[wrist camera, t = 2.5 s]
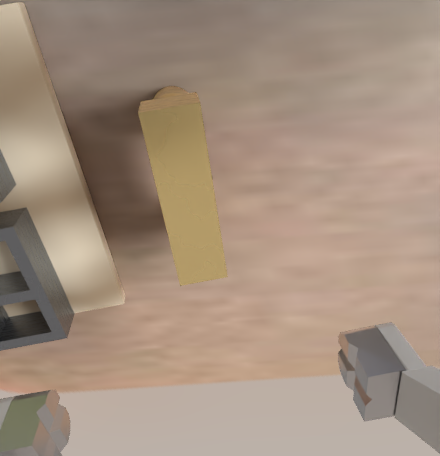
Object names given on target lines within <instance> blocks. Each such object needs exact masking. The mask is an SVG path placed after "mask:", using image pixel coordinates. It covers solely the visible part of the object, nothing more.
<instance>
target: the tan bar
mask: <svg viewBox="0 0 440 456" xmlns="http://www.w3.org/2000/svg"><path fill="white" fill-rule="evenodd" d="M138 115H139V119H140V123H141V127H142V131H143V135H144V139H145V143H146V147H147V152H148V156H149V160H150V164H151V168H152V172H153V176H154V180H155V184H156V188H157V193H158V197H159V201H160V205H161V209H162V213H163V217H164V221H165V225H166V230H167V234H168V238H169V242H170V246H171V250H172V254H173V258H174V262H175V266H176V271H177V275H178V279H179V283H180V286H182V285H187V284H192V283H198V282H203V281H208V280H214V279H219V278H224V277H228V276H227V270H226V264H225V257H224V251H223V245H222V238H221V232H220V226H219V219H218V213H217V207H216V200H215V194H214V188H213V181H212V175H211V169H210V162H209V156H208V150H207V143H206V137H205V131H204V124H203V118H202V112H201V105H200V101H199V98H198V96H197V93H196V92H194V93H187V92H186V91H185V90H183V89H182V88H179V87H175V86H169V87H165V88H163V89H161V90H160V91H158V92H157V93H156V95H155V96H154V98H153V99H152V100H146V101H141V103H140V107H139V111H138Z"/></svg>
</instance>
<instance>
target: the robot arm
mask: <svg viewBox="0 0 440 456" xmlns="http://www.w3.org/2000/svg"><path fill="white" fill-rule="evenodd" d="M338 342H339V344H340V346H341V348H342V349H341V350H340V351H339V352H338V363H339V368H340V372H341V375H342V377H343V379H344V382H345V384H346V385H347V387H349V388H350V389H352V390H353V391H354V397H353V400H354V402H355V404H356V406H357V408H358V410H359V412H360V414H361V416H362V418H363V420H364V421H369V420H375V419H380V418H386V417H392V416H395V418H396V419H397V420H398V421H399V422H401V423H402V424H403V425H405V426H406V427H407V428H408V429H409V430H411V431H412V432H414V433H415V434H416V435H417V436H418V437H420V438H421V439H422V440H423V441H425V442H426V443H427V444H428V445H430V446H431V447H432V448H434V449H435V450H436V451H437V452H438V453H440V370H439V369H437V368H436V367H434V366H426V365H425V364H424V362H423V361H422V360H421V358H420V357H419V356H418V354H417V353H416V352H415V350H414V349H413V348H412V347H411V345H410V344H409V343H408V341H407V340H406V339H405V337H404V336H403V335H402V333H401V332H400V331H399V329H398V328H397V327H396V325H395V324H393V323H392V322H390V323H385V324H380V325H375V326H369V327H364V328H359V329H354V330H350V331H345V332H340V334H339V340H338ZM59 399H60V397H59V395H58V393H57V392H56V390H49V391H43V392H37V393H31V394H25V395H19V396H15V397H9V398H4V399H0V456H62V454H61V453H60V452H61V451H62V450H63V448H64V447H65V446H66V445H67V443H68V440H69V435H70V418H69V414H68V412H67V410H66V408H65V407H63V406H61V405H59V404H58V403H59Z"/></svg>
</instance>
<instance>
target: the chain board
mask: <svg viewBox="0 0 440 456" xmlns="http://www.w3.org/2000/svg"><path fill="white" fill-rule="evenodd" d="M0 149H1V152H2V154H3V156H4V158H5V160H6V163H7V165H8V167H9V169H10V172H11V174H12V176H13V178H14V180H15V183H16V186H15V187H14V188H13V189H12V190H11V192H10V193H9V194H8V195H7V196H6V198H5V199H4V200H3V201H2V202H1V203H0V212H3V211H9V210H15V209H20V208H26V207H27V209H28V211H29V214H30V216H31V218H32V220H33V223H34V225H35V227H36V229H37V231H38V234H39V236H40V238H41V240H42V243H43V245H44V247H45V249H46V251H47V254H48V256H49V258H50V260H51V262H52V265H53V267H54V269H55V271H56V274H57V276H58V278H59V280H60V282H61V285H62V287H63V289H64V291H65V294H66V296H67V298H68V300H69V302H70V305H71V307H72V309H73V311H74V313H79V312H84V311H90V310H95V309H100V308H106V307H111V306H116V305H122V304H124V301H125V293H124V291H123V288H122V285H121V282H120V279H119V276H118V273H117V270H116V267H115V265H114V262H113V259H112V256H111V253H110V250H109V247H108V244H107V241H106V238H105V236H104V233H103V230H102V227H101V224H100V221H99V218H98V215H97V212H96V210H95V207H94V204H93V201H92V198H91V195H90V192H89V189H88V186H87V184H86V181H85V178H84V175H83V172H82V169H81V166H80V163H79V160H78V158H77V155H76V152H75V149H74V146H73V143H72V140H71V137H70V134H69V132H68V129H67V126H66V123H65V120H64V117H63V114H62V111H61V108H60V106H59V103H58V100H57V97H56V94H55V91H54V88H53V85H52V82H51V80H50V77H49V74H48V71H47V68H46V65H45V62H44V59H43V56H42V53H41V51H40V48H39V45H38V42H37V39H36V36H35V33H34V30H33V27H32V25H31V22H30V19H29V16H28V13H27V10H26V7H25V4H24V3H18V2H17V3H11V4H5V5H0ZM17 271H20V269H19V267H18V265H17V263H16V261H15V259H14V257H13V255H12V253H11V251H10V249H9V247H8V245H7V243H6V241H2V242H0V275H1V274H6V273H12V272H17ZM3 307H4V309H5V310H6V312H7V314H8V316H9V317H12V316H17V315H23V314H28V313H34V312H39V311H41V310H40V308H39V306H38V304H37V302H36V300H30V301H24V302H19V303H13V304H8V305H3Z"/></svg>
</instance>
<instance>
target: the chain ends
mask: <svg viewBox="0 0 440 456" xmlns="http://www.w3.org/2000/svg"><path fill="white" fill-rule="evenodd" d="M15 186H16V183H15V180H14V178H13V176H12V174H11V172H10V169H9V167H8V165H7V163H6V160H5V158H4V156H3V154H2V152H1V149H0V203H1V202H2V201H3V200H4V199H5V198H6V196H7V195H8V194H9V193H10V192H11V190H12V189H13V188H14V187H15ZM2 241H6V243H7V245H8V247H9V249H10V251H11V253H12V255H13V257H14V259H15V261H16V263H17V265H18V267H19V269H20V271H17V272H12V273H6V274H1V275H0V351H1V350H6V349H11V348H17V347H22V346H27V345H32V344H38V343H43V342H48V341H54V340H59V339H64V338H67V337H68V333H69V330H70V327H71V323H72V320H73V317H74V311H73V309H72V307H71V305H70V302H69V300H68V298H67V296H66V294H65V291H64V289H63V287H62V285H61V282H60V280H59V278H58V276H57V274H56V271H55V269H54V267H53V265H52V262H51V260H50V258H49V256H48V254H47V251H46V249H45V247H44V245H43V243H42V240H41V238H40V236H39V234H38V231H37V229H36V227H35V225H34V223H33V220H32V218H31V216H30V214H29V211H28V209H27V207H26V208H20V209H15V210H9V211H3V212H0V242H2ZM30 300H36V302H37V304H38V306H39V308H40V310H41V311H39V312H34V313H28V314H23V315H17V316H12V317H9V316H8V314H7V312H6V310H5V309H4V307H3V305H8V304H13V303H19V302H24V301H30Z"/></svg>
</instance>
